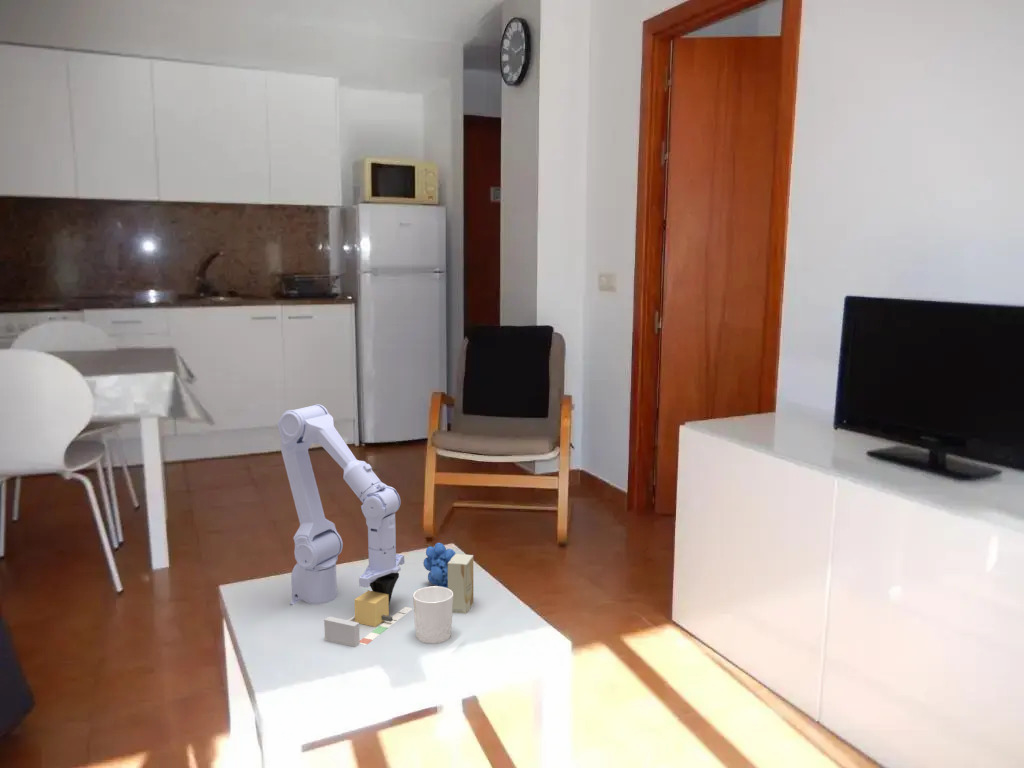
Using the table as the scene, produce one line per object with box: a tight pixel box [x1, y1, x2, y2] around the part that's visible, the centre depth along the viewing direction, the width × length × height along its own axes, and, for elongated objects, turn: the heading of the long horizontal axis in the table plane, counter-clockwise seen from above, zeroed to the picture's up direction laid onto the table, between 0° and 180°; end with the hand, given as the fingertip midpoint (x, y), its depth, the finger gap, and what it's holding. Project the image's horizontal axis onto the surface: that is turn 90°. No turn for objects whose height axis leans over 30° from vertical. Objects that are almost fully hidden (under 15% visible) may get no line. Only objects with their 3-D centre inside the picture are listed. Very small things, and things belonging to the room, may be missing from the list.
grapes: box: [423, 542, 457, 588], centre depth 173 cm, size 12×7×12 cm, turn 56°
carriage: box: [354, 590, 392, 628], centre depth 158 cm, size 7×5×5 cm
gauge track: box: [323, 606, 414, 648], centre depth 158 cm, size 11×22×6 cm, turn 157°
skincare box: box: [448, 553, 475, 615], centre depth 164 cm, size 6×4×12 cm
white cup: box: [412, 585, 453, 644], centre depth 151 cm, size 8×8×10 cm
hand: (383, 607), depth 162 cm, fingers closed
